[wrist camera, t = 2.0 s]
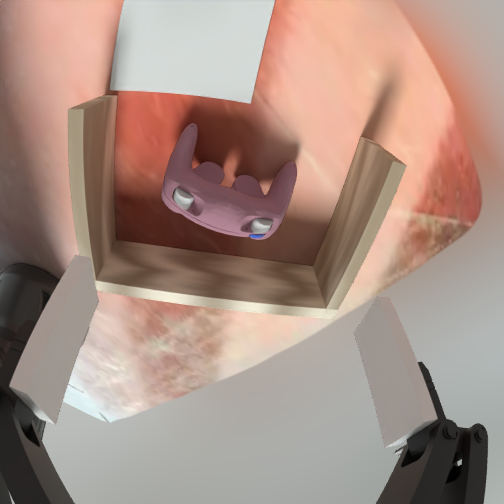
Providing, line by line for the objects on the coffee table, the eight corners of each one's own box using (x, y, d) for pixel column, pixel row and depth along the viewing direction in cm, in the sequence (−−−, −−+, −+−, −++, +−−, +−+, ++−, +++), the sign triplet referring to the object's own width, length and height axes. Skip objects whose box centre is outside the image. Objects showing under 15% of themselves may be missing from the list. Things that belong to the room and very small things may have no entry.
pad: (112, 89, 19) (109, 90, 18) (136, -34, 12) (133, -36, 12) (250, 102, 21) (250, 103, 20) (280, -24, 14) (281, -26, 14)
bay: (106, 248, 28) (86, 288, 23) (104, 95, 19) (68, 109, 14) (319, 276, 31) (332, 318, 26) (372, 140, 22) (406, 165, 18)
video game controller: (175, 153, 24) (148, 219, 21) (187, 114, 20) (155, 182, 17) (278, 190, 27) (270, 258, 24) (303, 160, 23) (300, 232, 20)
